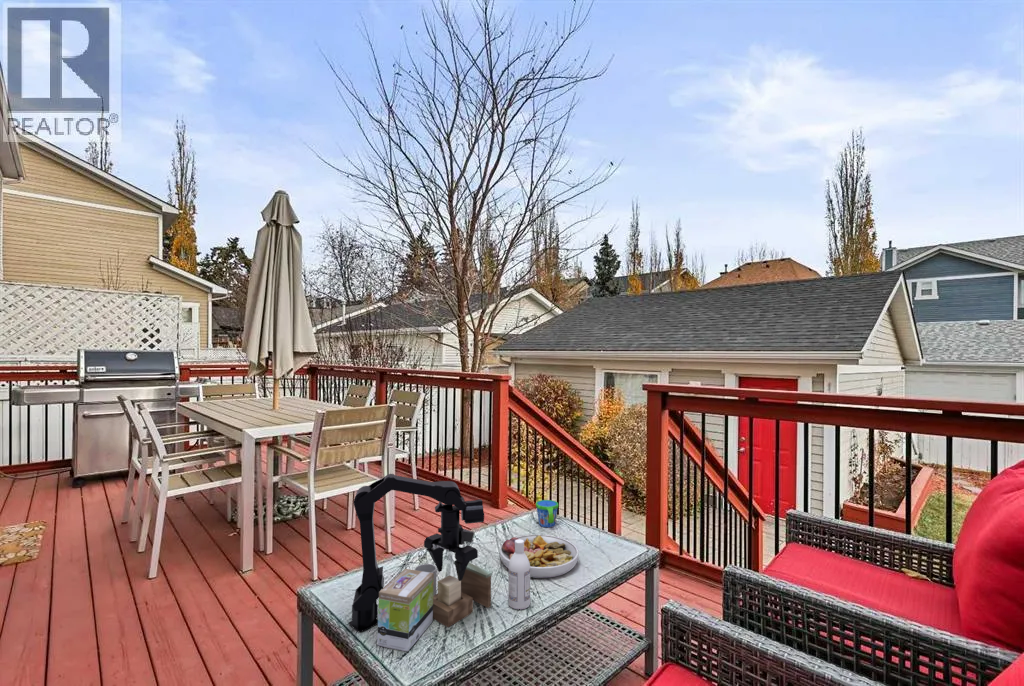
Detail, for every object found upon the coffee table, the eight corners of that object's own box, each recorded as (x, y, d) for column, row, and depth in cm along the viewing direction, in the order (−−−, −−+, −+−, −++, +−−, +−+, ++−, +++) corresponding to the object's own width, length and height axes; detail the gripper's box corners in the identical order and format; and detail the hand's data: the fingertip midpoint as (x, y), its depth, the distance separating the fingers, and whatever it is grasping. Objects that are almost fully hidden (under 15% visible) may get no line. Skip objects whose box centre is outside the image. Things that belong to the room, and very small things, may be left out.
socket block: (453, 630, 132) (454, 592, 132) (420, 611, 142) (420, 576, 142) (492, 607, 145) (492, 572, 145) (459, 591, 154) (459, 558, 154)
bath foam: (528, 598, 150) (528, 536, 151) (531, 609, 143) (531, 545, 144) (507, 599, 149) (507, 537, 150) (509, 610, 142) (509, 545, 143)
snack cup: (534, 519, 222) (534, 498, 222) (555, 518, 222) (555, 497, 222) (537, 531, 206) (537, 508, 206) (560, 531, 207) (560, 508, 207)
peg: (460, 613, 141) (460, 580, 141) (448, 620, 137) (449, 586, 138) (449, 607, 144) (449, 575, 145) (437, 614, 140) (437, 581, 141)
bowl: (576, 548, 190) (576, 528, 190) (580, 584, 160) (580, 561, 160) (504, 544, 192) (504, 526, 193) (494, 579, 163) (495, 557, 163)
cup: (420, 604, 146) (420, 576, 146) (406, 591, 154) (407, 564, 154) (440, 597, 150) (440, 569, 150) (426, 585, 158) (426, 558, 158)
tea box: (409, 653, 122) (409, 596, 123) (376, 646, 125) (376, 591, 125) (433, 621, 137) (434, 571, 137) (403, 616, 140) (404, 567, 140)
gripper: (490, 524, 142) (490, 575, 141) (449, 511, 154) (449, 558, 153) (464, 535, 133) (464, 589, 133) (423, 520, 145) (422, 570, 145)
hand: (450, 575), depth 141 cm, fingers open, 9 cm apart
